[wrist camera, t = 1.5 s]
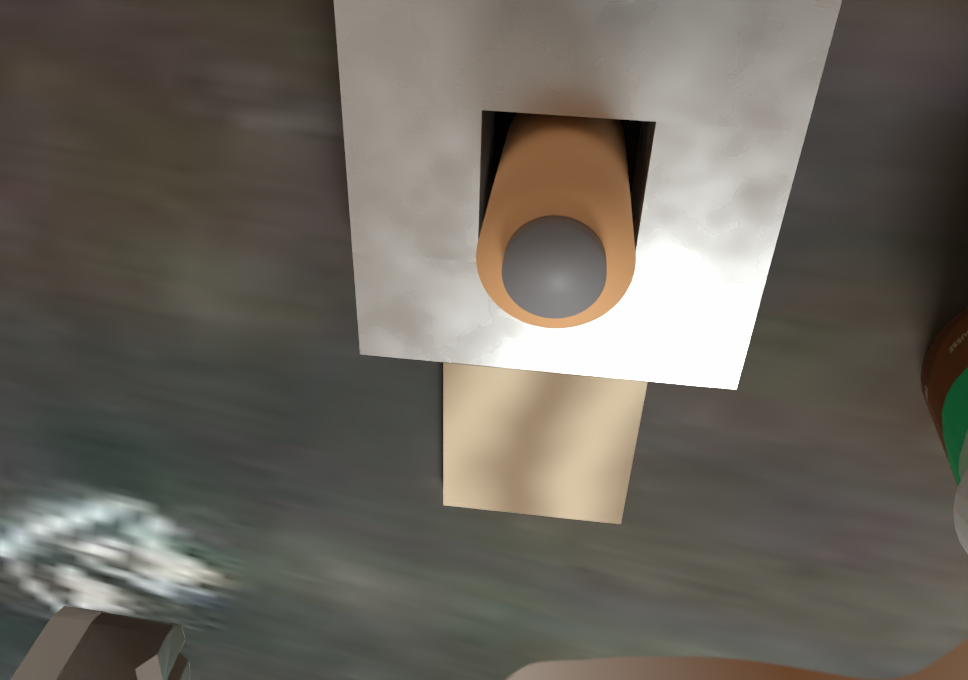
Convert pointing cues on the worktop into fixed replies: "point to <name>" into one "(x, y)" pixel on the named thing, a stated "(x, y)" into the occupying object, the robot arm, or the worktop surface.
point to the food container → (951, 407)
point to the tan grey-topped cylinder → (559, 221)
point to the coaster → (539, 441)
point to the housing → (583, 93)
